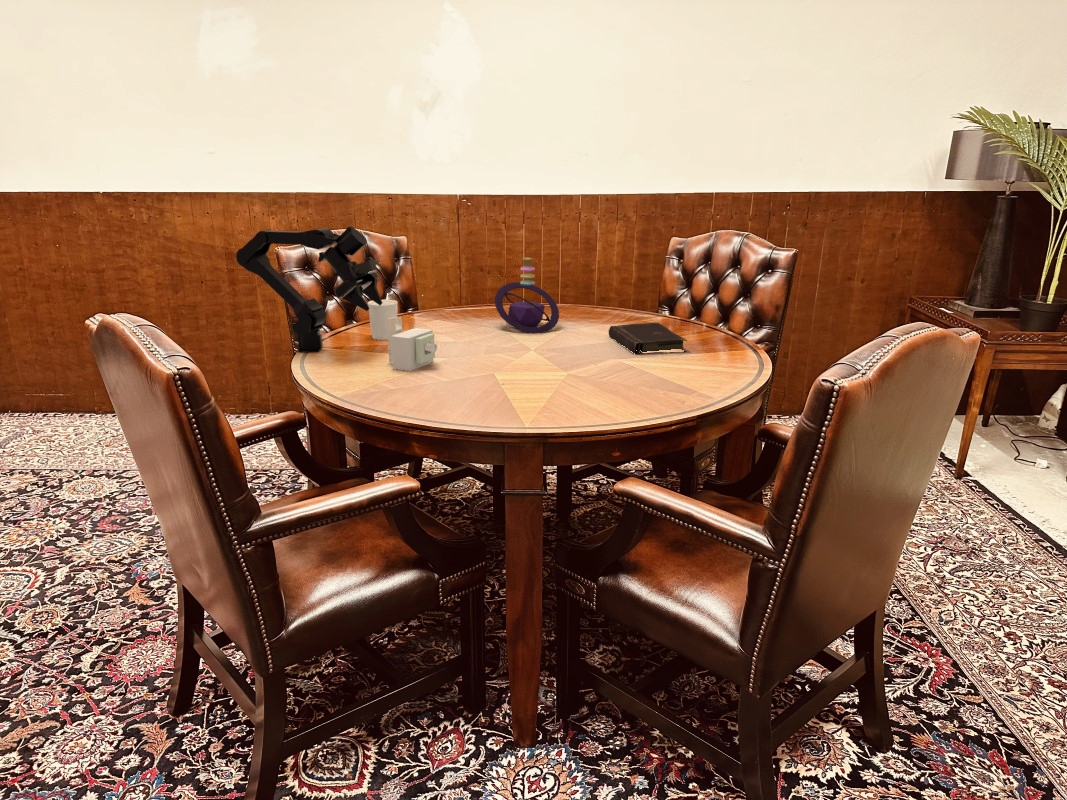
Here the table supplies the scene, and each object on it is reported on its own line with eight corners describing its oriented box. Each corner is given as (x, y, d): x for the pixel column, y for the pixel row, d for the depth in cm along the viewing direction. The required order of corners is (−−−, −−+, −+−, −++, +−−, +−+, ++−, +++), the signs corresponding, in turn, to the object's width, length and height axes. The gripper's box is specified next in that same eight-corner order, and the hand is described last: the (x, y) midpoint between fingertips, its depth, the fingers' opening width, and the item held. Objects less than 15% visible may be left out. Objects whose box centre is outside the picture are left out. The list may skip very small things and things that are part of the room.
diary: (633, 357, 224) (633, 341, 222) (608, 339, 247) (608, 325, 246) (689, 353, 228) (689, 338, 226) (659, 336, 251) (659, 322, 249)
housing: (392, 368, 206) (390, 336, 203) (416, 359, 216) (415, 328, 213) (410, 371, 203) (408, 338, 200) (433, 361, 214) (432, 330, 211)
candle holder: (402, 334, 248) (401, 300, 244) (394, 341, 238) (392, 305, 235) (374, 333, 248) (372, 299, 245) (365, 340, 239) (363, 304, 235)
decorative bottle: (503, 336, 247) (502, 262, 239) (490, 323, 266) (489, 255, 258) (565, 332, 252) (566, 260, 245) (548, 321, 272) (549, 253, 264)
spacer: (416, 362, 205) (415, 338, 202) (430, 357, 211) (429, 333, 208) (421, 363, 204) (420, 339, 202) (434, 357, 210) (434, 334, 208)
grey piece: (389, 362, 211) (386, 318, 207) (395, 359, 214) (393, 316, 210) (432, 368, 205) (430, 323, 201) (438, 365, 208) (436, 321, 204)
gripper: (346, 252, 203) (380, 296, 205) (374, 245, 221) (405, 286, 222) (319, 275, 207) (354, 319, 209) (349, 267, 225) (380, 307, 226)
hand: (374, 307), depth 217 cm, fingers open, 9 cm apart
